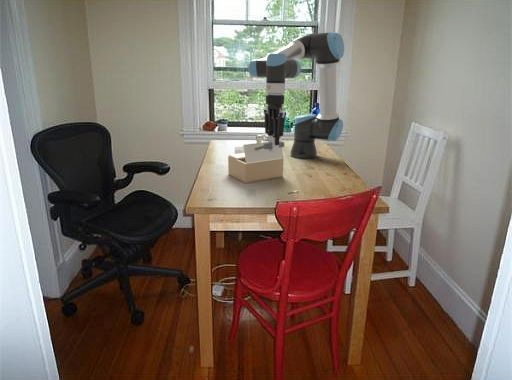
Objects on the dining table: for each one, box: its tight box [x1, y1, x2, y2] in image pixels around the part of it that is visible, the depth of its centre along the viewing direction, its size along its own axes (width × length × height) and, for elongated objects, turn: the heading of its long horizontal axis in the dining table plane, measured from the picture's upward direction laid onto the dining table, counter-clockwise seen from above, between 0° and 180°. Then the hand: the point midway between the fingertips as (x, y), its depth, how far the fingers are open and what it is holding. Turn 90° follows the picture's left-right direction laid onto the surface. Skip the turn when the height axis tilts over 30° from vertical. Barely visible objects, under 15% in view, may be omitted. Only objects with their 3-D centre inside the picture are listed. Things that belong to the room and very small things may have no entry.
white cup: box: [234, 145, 244, 154], centre depth 181 cm, size 8×8×10 cm
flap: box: [242, 140, 285, 163], centre depth 155 cm, size 19×8×10 cm
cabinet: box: [227, 153, 284, 185], centre depth 167 cm, size 20×16×10 cm
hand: (273, 151), depth 152 cm, fingers closed on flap, 2 cm apart
